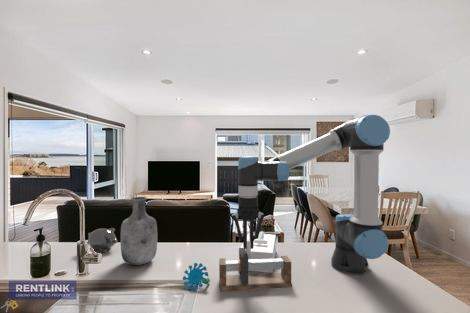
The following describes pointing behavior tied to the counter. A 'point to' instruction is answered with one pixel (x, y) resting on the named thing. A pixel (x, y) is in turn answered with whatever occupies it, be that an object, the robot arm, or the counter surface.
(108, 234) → the piggy bank
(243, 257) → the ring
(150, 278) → the counter surface
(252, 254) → the white pegged block
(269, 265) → the light grey bar
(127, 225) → the vase
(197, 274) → the gear
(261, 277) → the wooden stand
